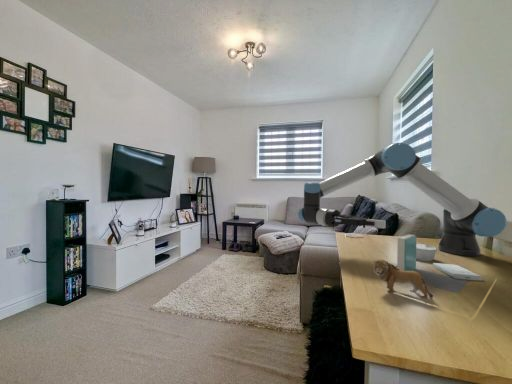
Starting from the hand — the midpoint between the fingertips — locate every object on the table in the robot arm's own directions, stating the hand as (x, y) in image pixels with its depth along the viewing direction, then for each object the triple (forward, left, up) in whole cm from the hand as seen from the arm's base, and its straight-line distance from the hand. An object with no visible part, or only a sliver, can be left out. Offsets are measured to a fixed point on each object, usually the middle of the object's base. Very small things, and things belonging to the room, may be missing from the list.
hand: (384, 224), depth 87 cm
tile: (-2, +7, -16) cm, 17 cm away
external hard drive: (-17, +15, -16) cm, 28 cm away
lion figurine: (+16, +15, -16) cm, 27 cm away
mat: (-3, +12, -16) cm, 20 cm away
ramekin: (-27, -1, -17) cm, 31 cm away
